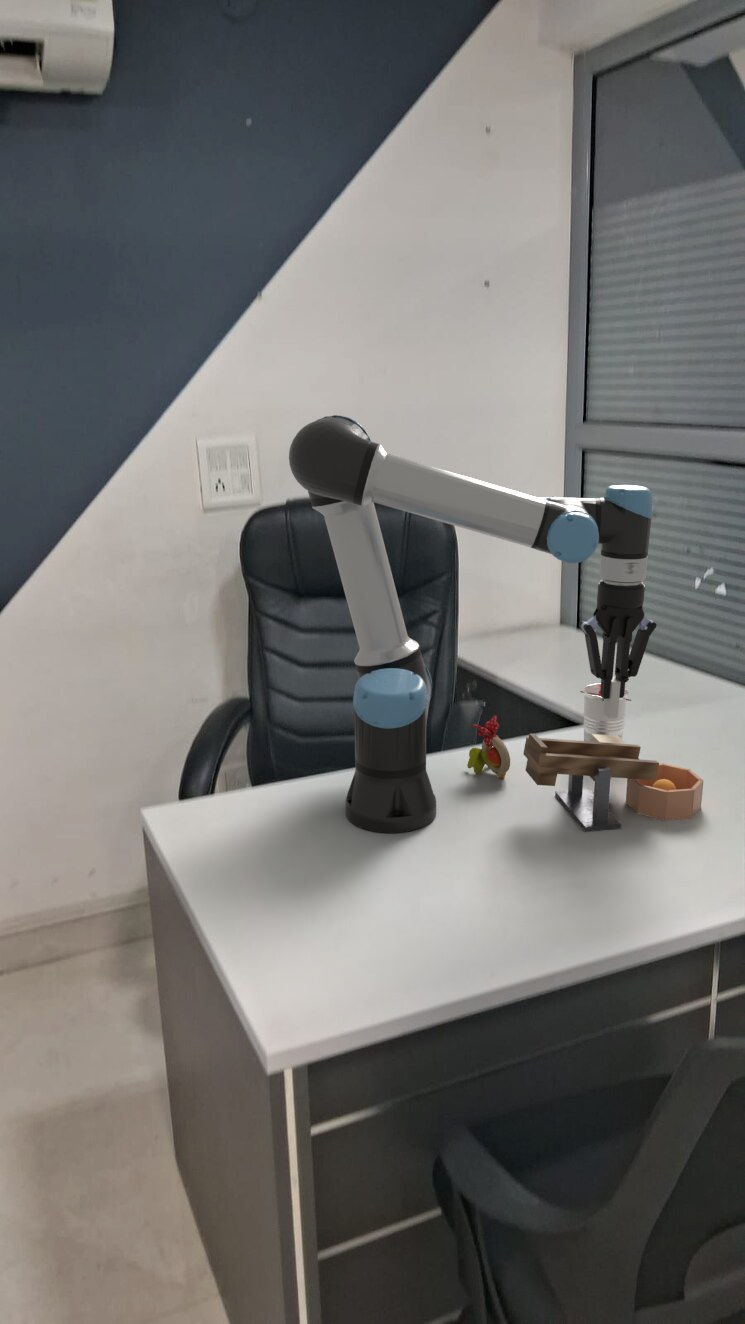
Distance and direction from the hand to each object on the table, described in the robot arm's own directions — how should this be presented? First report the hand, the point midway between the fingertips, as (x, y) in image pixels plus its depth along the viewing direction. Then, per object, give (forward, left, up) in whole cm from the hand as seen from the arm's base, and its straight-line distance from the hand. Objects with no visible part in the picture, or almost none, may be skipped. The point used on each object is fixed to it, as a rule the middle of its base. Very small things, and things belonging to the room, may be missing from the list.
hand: (610, 715), depth 170 cm
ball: (+11, -1, -11) cm, 15 cm away
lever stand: (+1, -11, -13) cm, 17 cm away
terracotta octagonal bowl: (+11, -1, -13) cm, 17 cm away
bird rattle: (-19, -6, -14) cm, 24 cm away
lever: (-2, -9, -8) cm, 12 cm away
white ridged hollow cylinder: (-7, +16, -14) cm, 23 cm away
